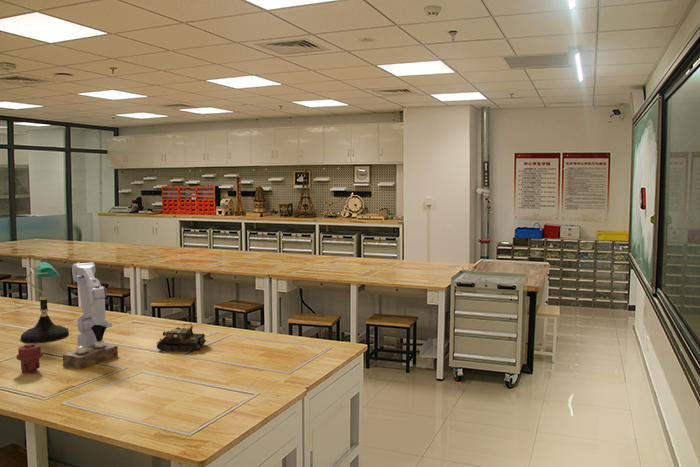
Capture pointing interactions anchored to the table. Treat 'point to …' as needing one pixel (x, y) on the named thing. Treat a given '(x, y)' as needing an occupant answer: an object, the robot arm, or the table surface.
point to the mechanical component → (29, 357)
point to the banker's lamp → (44, 313)
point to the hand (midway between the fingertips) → (99, 340)
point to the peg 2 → (99, 344)
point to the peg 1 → (81, 350)
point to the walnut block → (90, 356)
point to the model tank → (181, 340)
